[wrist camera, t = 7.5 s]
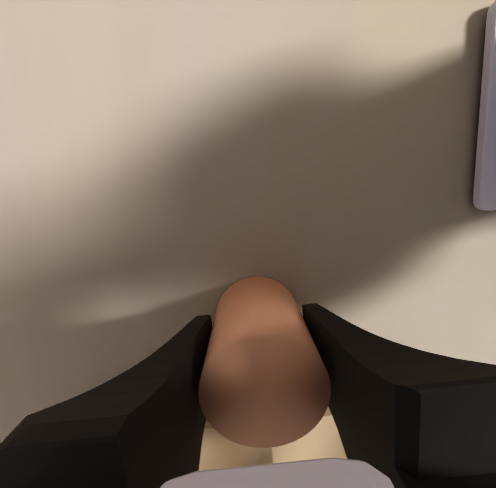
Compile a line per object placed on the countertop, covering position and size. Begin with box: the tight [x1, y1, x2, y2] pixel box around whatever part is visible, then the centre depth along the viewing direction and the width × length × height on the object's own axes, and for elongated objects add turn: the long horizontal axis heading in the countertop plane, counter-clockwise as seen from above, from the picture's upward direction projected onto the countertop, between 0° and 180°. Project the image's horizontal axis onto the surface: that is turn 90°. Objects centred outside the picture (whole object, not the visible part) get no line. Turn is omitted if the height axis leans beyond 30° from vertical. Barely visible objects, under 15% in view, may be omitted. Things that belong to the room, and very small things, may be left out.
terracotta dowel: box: [198, 276, 331, 448], centre depth 10 cm, size 4×4×5 cm
